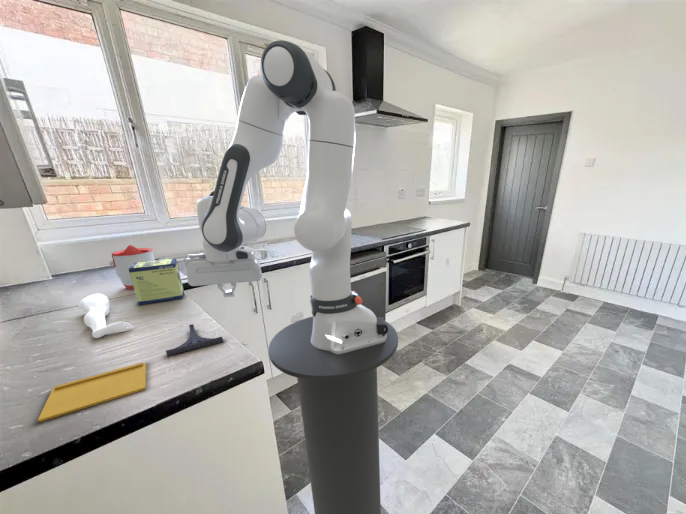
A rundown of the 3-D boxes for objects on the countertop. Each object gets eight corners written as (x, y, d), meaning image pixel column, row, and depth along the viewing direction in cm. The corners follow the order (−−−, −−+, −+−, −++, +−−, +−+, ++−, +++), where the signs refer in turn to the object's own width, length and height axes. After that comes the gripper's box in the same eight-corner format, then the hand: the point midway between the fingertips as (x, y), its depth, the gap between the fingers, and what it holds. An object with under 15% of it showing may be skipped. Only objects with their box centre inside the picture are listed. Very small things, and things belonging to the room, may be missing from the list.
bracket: (216, 325, 106) (215, 317, 105) (223, 342, 94) (221, 334, 93) (166, 337, 98) (164, 329, 98) (167, 357, 87) (164, 348, 86)
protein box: (183, 298, 131) (174, 263, 126) (138, 305, 124) (127, 268, 119) (184, 291, 140) (176, 257, 134) (142, 297, 133) (132, 262, 127)
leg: (108, 288, 123) (72, 295, 116) (129, 316, 102) (87, 327, 95) (113, 303, 126) (78, 311, 118) (135, 334, 105) (94, 346, 97)
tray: (146, 364, 83) (145, 361, 83) (145, 389, 73) (144, 385, 73) (53, 390, 74) (52, 386, 73) (38, 422, 64) (36, 418, 63)
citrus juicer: (116, 286, 148) (102, 245, 141) (159, 279, 158) (149, 240, 151) (116, 295, 136) (102, 250, 130) (163, 286, 147) (152, 244, 140)
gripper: (178, 257, 85) (188, 303, 90) (257, 252, 90) (263, 296, 95) (185, 252, 91) (195, 296, 96) (259, 248, 96) (265, 290, 101)
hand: (229, 296), depth 95 cm, fingers closed
